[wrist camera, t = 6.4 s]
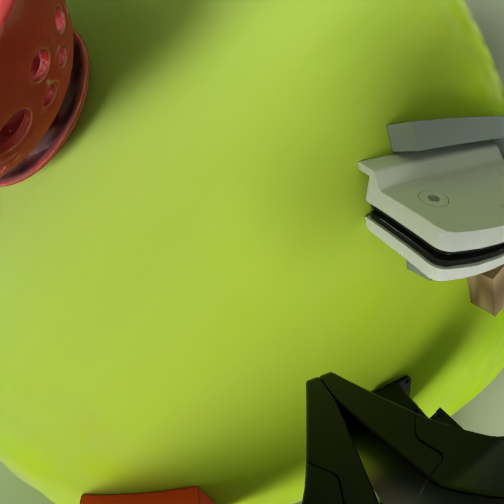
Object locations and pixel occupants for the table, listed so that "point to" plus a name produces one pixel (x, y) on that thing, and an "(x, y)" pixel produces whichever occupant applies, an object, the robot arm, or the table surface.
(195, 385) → the table surface
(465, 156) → the hinge
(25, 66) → the plant pot
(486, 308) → the spacer block
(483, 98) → the table surface
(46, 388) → the table surface
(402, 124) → the channel jig
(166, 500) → the file binder
